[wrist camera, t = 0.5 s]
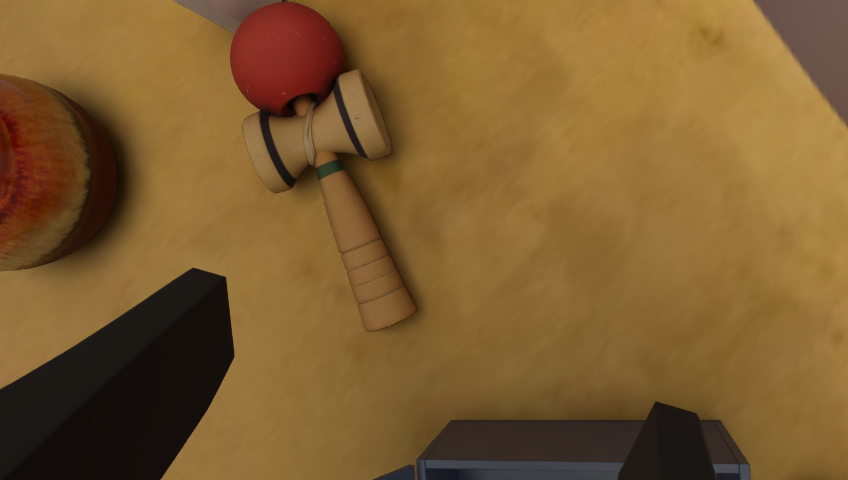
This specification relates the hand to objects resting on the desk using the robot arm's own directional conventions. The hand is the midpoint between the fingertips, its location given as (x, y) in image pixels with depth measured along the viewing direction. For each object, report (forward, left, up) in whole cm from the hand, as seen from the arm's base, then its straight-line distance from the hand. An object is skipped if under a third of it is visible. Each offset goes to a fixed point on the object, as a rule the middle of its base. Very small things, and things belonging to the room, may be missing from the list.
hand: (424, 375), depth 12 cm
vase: (+8, +30, -27) cm, 41 cm away
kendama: (+7, +11, -27) cm, 30 cm away
